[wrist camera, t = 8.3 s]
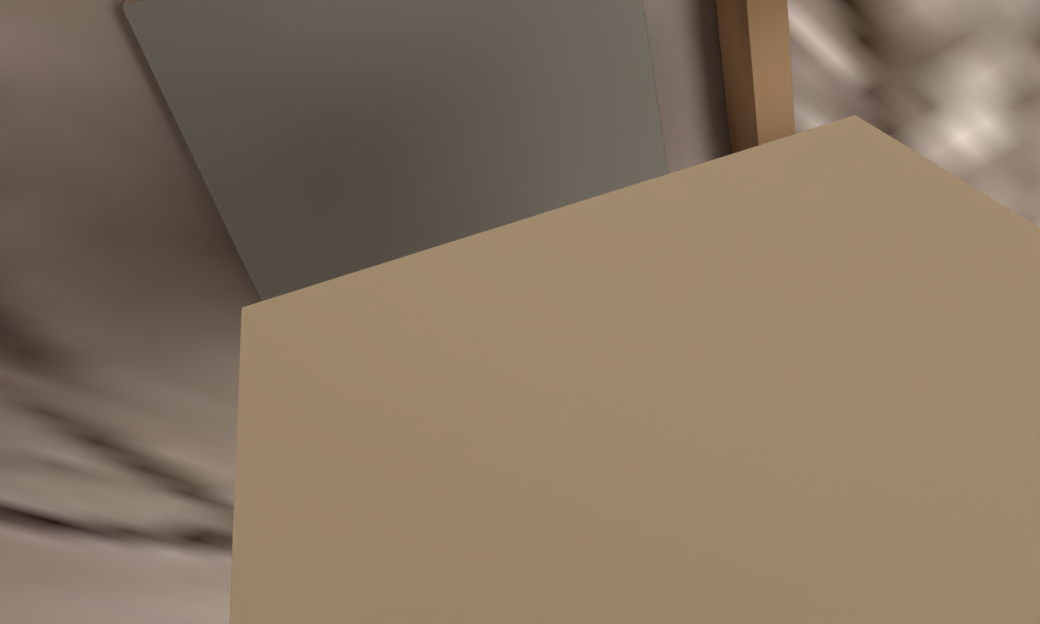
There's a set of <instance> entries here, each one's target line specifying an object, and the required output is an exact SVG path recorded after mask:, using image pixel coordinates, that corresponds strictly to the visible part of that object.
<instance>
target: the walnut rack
mask: <svg viewBox="0 0 1040 624" xmlns="http://www.w3.org/2000/svg"><path fill="white" fill-rule="evenodd" d="M715 1H716V10H717V20H718V30H719V40H720V49H721V59H722V69H723V79H724V89H725V98H726V108H727V118H728V128H729V137H730V147H731V154H733V153H736V152H740V151H743V150H746V149H749V148H752V147H756V146H759V145H762V144H765V143H768V142H772V141H775V140H778V139H781V138H784V137H788V136H791V135H794V134H795V129H794V112H793V95H792V77H791V60H790V43H789V25H788V8H787V0H715Z"/></svg>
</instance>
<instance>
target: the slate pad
mask: <svg viewBox="0 0 1040 624" xmlns="http://www.w3.org/2000/svg"><path fill="white" fill-rule="evenodd" d="M122 9H123V11H124V13H125V15H126V17H127V19H128V21H129V24H130V26H131V28H132V30H133V32H134V34H135V36H136V38H137V40H138V43H139V45H140V47H141V49H142V51H143V53H144V55H145V57H146V59H147V62H148V64H149V66H150V68H151V70H152V72H153V74H154V76H155V78H156V81H157V83H158V85H159V87H160V89H161V91H162V93H163V95H164V97H165V99H166V102H167V104H168V106H169V108H170V110H171V112H172V114H173V116H174V118H175V121H176V123H177V125H178V127H179V129H180V131H181V133H182V135H183V137H184V140H185V142H186V144H187V146H188V148H189V150H190V152H191V154H192V156H193V159H194V161H195V163H196V165H197V167H198V169H199V171H200V173H201V175H202V178H203V180H204V182H205V184H206V186H207V188H208V190H209V192H210V194H211V197H212V199H213V201H214V203H215V205H216V207H217V209H218V211H219V213H220V216H221V218H222V220H223V222H224V224H225V226H226V228H227V230H228V232H229V234H230V237H231V239H232V241H233V243H234V245H235V247H236V249H237V251H238V253H239V256H240V258H241V260H242V262H243V264H244V266H245V268H246V270H247V272H248V275H249V277H250V279H251V281H252V283H253V285H254V287H255V289H256V291H257V294H258V296H259V298H260V300H261V301H264V300H268V299H271V298H274V297H277V296H280V295H283V294H287V293H290V292H293V291H296V290H299V289H303V288H306V287H309V286H312V285H315V284H319V283H322V282H325V281H328V280H331V279H335V278H338V277H341V276H344V275H347V274H350V273H354V272H357V271H360V270H363V269H366V268H370V267H373V266H376V265H379V264H382V263H386V262H389V261H392V260H395V259H398V258H401V257H405V256H408V255H411V254H414V253H417V252H421V251H424V250H427V249H430V248H433V247H437V246H440V245H443V244H446V243H449V242H453V241H456V240H459V239H462V238H465V237H468V236H472V235H475V234H478V233H481V232H484V231H488V230H491V229H494V228H497V227H500V226H504V225H507V224H510V223H513V222H516V221H520V220H523V219H526V218H529V217H532V216H535V215H539V214H542V213H545V212H548V211H551V210H555V209H558V208H561V207H564V206H567V205H571V204H574V203H577V202H580V201H583V200H587V199H590V198H593V197H596V196H599V195H602V194H606V193H609V192H612V191H615V190H618V189H622V188H625V187H628V186H631V185H634V184H638V183H641V182H644V181H647V180H650V179H654V178H657V177H660V176H663V175H666V174H668V170H667V163H666V157H665V150H664V143H663V136H662V129H661V123H660V116H659V109H658V102H657V96H656V89H655V82H654V75H653V69H652V62H651V55H650V48H649V41H648V35H647V28H646V21H645V14H644V8H643V1H642V0H125V2H124V4H123V6H122Z"/></svg>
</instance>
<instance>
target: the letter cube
mask: <svg viewBox="0 0 1040 624" xmlns="http://www.w3.org/2000/svg"><path fill="white" fill-rule="evenodd" d="M230 624H1040V228H1039V227H1038V226H1036V225H1035V224H1033V223H1031V222H1030V221H1028V220H1026V219H1025V218H1023V217H1021V216H1020V215H1018V214H1017V213H1015V212H1013V211H1012V210H1010V209H1008V208H1007V207H1005V206H1003V205H1002V204H1000V203H998V202H997V201H995V200H994V199H992V198H990V197H989V196H987V195H985V194H984V193H982V192H980V191H979V190H977V189H975V188H974V187H972V186H971V185H969V184H967V183H966V182H964V181H962V180H961V179H959V178H957V177H956V176H954V175H953V174H951V173H949V172H948V171H946V170H944V169H943V168H941V167H939V166H938V165H936V164H934V163H933V162H931V161H930V160H928V159H926V158H925V157H923V156H921V155H920V154H918V153H916V152H915V151H913V150H912V149H910V148H908V147H907V146H905V145H903V144H902V143H900V142H898V141H897V140H895V139H893V138H892V137H890V136H889V135H887V134H885V133H884V132H882V131H880V130H879V129H877V128H875V127H874V126H872V125H871V124H869V123H867V122H866V121H864V120H862V119H861V118H859V117H857V116H856V115H854V116H851V117H848V118H845V119H842V120H839V121H835V122H832V123H829V124H826V125H823V126H819V127H816V128H813V129H810V130H807V131H803V132H800V133H797V134H794V135H791V136H788V137H784V138H781V139H778V140H775V141H772V142H768V143H765V144H762V145H759V146H756V147H752V148H749V149H746V150H743V151H740V152H736V153H733V154H730V155H727V156H724V157H721V158H717V159H714V160H711V161H708V162H705V163H701V164H698V165H695V166H692V167H689V168H685V169H682V170H679V171H676V172H673V173H669V174H666V175H663V176H660V177H657V178H654V179H650V180H647V181H644V182H641V183H638V184H634V185H631V186H628V187H625V188H622V189H618V190H615V191H612V192H609V193H606V194H602V195H599V196H596V197H593V198H590V199H587V200H583V201H580V202H577V203H574V204H571V205H567V206H564V207H561V208H558V209H555V210H551V211H548V212H545V213H542V214H539V215H535V216H532V217H529V218H526V219H523V220H520V221H516V222H513V223H510V224H507V225H504V226H500V227H497V228H494V229H491V230H488V231H484V232H481V233H478V234H475V235H472V236H468V237H465V238H462V239H459V240H456V241H453V242H449V243H446V244H443V245H440V246H437V247H433V248H430V249H427V250H424V251H421V252H417V253H414V254H411V255H408V256H405V257H401V258H398V259H395V260H392V261H389V262H386V263H382V264H379V265H376V266H373V267H370V268H366V269H363V270H360V271H357V272H354V273H350V274H347V275H344V276H341V277H338V278H335V279H331V280H328V281H325V282H322V283H319V284H315V285H312V286H309V287H306V288H303V289H299V290H296V291H293V292H290V293H287V294H283V295H280V296H277V297H274V298H271V299H268V300H264V301H261V302H258V303H255V304H252V305H248V306H245V307H242V312H241V338H240V364H239V390H238V416H237V442H236V468H235V494H234V520H233V546H232V572H231V598H230Z"/></svg>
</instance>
